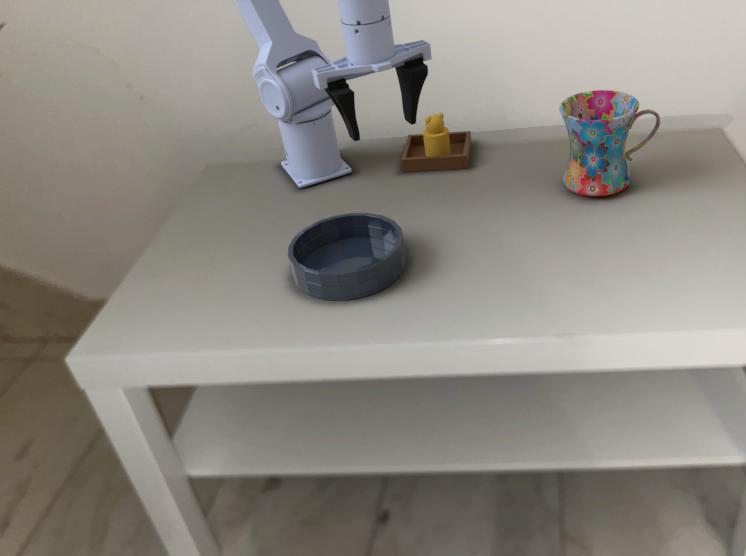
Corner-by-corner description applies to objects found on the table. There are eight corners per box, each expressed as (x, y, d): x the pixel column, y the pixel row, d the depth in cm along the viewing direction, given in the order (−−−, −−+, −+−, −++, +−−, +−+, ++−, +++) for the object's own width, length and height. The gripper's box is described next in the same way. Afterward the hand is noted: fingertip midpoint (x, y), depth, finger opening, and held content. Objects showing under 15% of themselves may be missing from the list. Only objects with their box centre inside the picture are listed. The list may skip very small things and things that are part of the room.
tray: (402, 172, 107) (400, 159, 106) (409, 146, 114) (408, 134, 113) (468, 168, 106) (467, 155, 105) (471, 142, 112) (470, 130, 111)
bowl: (281, 259, 93) (274, 234, 91) (381, 226, 96) (376, 201, 94) (315, 314, 83) (308, 288, 81) (425, 275, 86) (421, 249, 84)
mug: (564, 206, 95) (564, 124, 88) (555, 172, 102) (554, 94, 95) (663, 196, 94) (671, 113, 87) (647, 163, 101) (653, 83, 94)
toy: (421, 153, 110) (416, 113, 107) (444, 147, 111) (439, 107, 108) (432, 162, 108) (427, 122, 104) (455, 155, 109) (451, 115, 105)
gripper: (317, 41, 83) (339, 157, 91) (437, 10, 87) (448, 124, 95) (298, 26, 88) (321, 137, 97) (412, -2, 92) (424, 107, 100)
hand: (382, 129), depth 96 cm, fingers open, 7 cm apart
